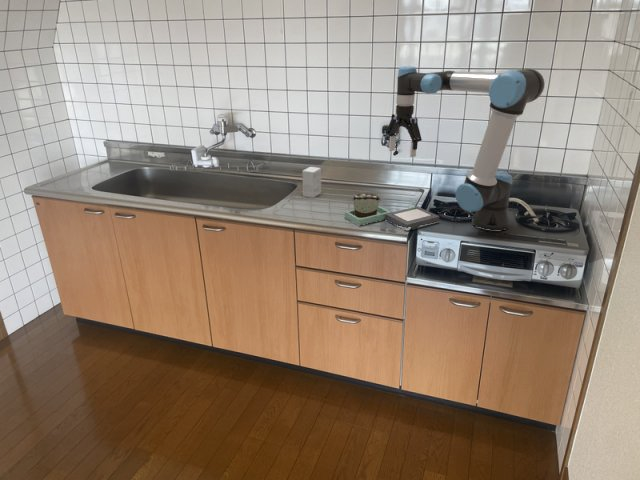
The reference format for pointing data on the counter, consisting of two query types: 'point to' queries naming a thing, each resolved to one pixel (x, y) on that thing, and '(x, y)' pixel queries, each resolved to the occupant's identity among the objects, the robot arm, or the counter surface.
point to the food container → (365, 204)
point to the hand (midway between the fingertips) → (402, 153)
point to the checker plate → (412, 215)
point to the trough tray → (360, 221)
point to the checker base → (412, 224)
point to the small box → (311, 182)
